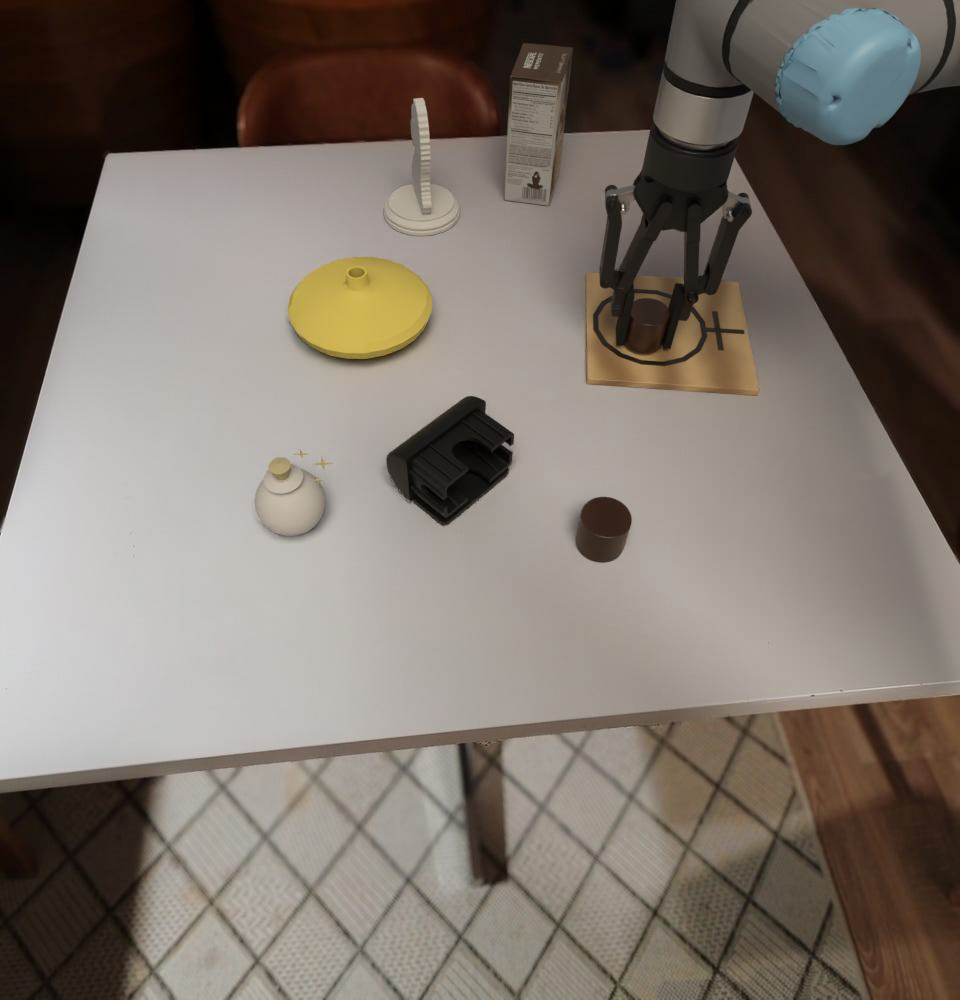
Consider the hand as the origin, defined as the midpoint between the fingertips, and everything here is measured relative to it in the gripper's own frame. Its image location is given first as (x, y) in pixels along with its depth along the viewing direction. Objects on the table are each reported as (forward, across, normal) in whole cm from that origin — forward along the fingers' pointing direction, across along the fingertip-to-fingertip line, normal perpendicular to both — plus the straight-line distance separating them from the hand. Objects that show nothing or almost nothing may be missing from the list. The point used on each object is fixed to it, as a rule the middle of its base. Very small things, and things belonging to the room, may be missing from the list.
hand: (642, 338), depth 84 cm
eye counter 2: (0, 0, 0) cm, 0 cm away
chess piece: (+2, +27, -23) cm, 35 cm away
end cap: (+2, +19, +20) cm, 28 cm away
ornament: (+2, +32, +26) cm, 41 cm away
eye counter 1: (+1, +5, +26) cm, 27 cm away
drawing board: (+2, -3, -3) cm, 5 cm away
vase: (+2, +31, -1) cm, 31 cm away
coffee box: (+2, +13, -31) cm, 34 cm away
